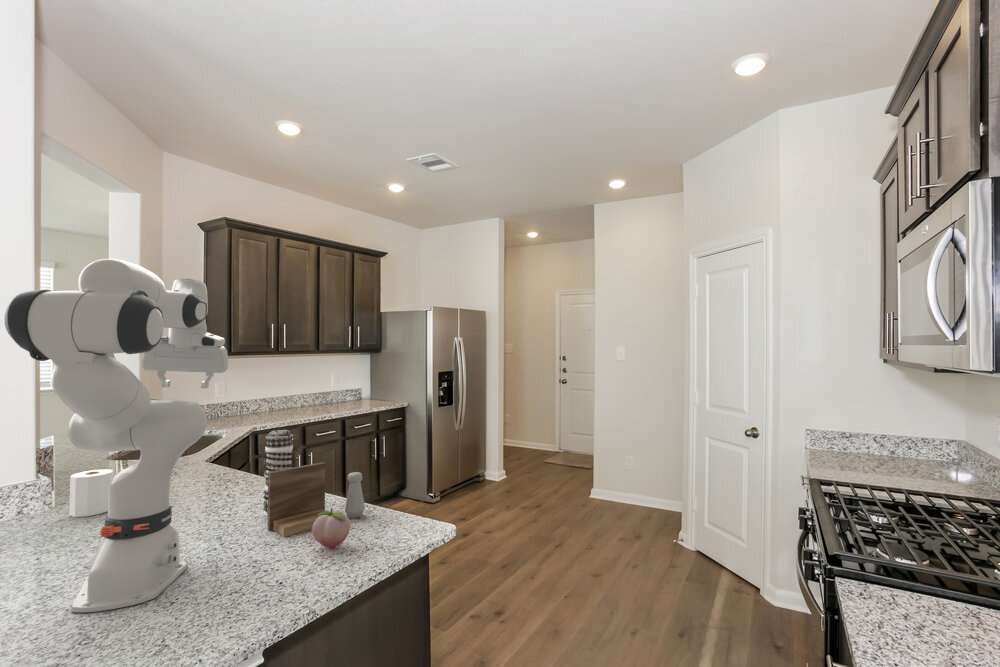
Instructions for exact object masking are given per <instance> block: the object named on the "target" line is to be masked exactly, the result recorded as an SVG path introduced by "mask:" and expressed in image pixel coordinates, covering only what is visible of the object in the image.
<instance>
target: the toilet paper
mask: <svg viewBox="0 0 1000 667" xmlns="http://www.w3.org/2000/svg"><path fill="white" fill-rule="evenodd" d="M114 470H115V469H109V468H104V469H93V470H92V469H91V470H85V471H84V470H83V471H81V472H76V473H73V474H71V475H70V478H69V484H70V485H69V509H68V510H69V512H68V514H69V517H73V518H81V517H90V516H91V517H92V516H95V515H101V514H104V513H106V512H107V513H108V487H109V483H110V481H111V479H112V478H113V477H114Z"/></svg>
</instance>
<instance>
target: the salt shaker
mask: <svg viewBox="0 0 1000 667" xmlns="http://www.w3.org/2000/svg"><path fill="white" fill-rule="evenodd" d="M346 479H347V482H349V484H348V485H349V486H348V491H347V496H346V501H345V506H344V512H345V513H346V514H345V515H346V516H347V517H348V518H349V519H351V520H352V519H359V518H361V517H362V516H363V514H364V511H365V507H366V505H365V499H364V495H363V489H362V483H361V482H362V480H363V473H361V472H359V471H354V472H350V473H348V474H347V478H346Z"/></svg>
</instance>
